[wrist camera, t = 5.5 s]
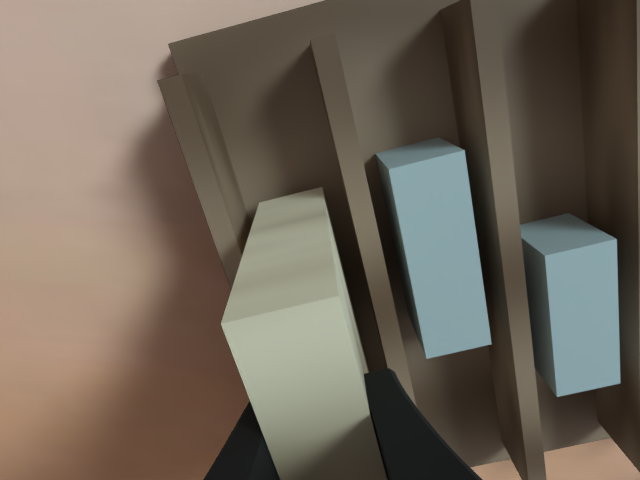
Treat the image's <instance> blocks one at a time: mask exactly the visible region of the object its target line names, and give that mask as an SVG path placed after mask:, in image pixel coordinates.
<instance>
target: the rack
mask: <svg viewBox="0 0 640 480" xmlns="http://www.w3.org/2000/svg"><path fill="white" fill-rule="evenodd" d="M168 45H169V48H170V51H171V54H172V57H173V60H174V63H175V66H176V69H177V72H178V75H176V76H172V77H169V78H165V79H161V80H158V84H159V87H160V90H161V93H162V96H163V98H164V101H165V104H166V107H167V110H168V113H169V115H170V118H171V121H172V124H173V127H174V130H175V132H176V135H177V138H178V141H179V144H180V147H181V149H182V152H183V155H184V158H185V161H186V163H187V166H188V169H189V172H190V175H191V178H192V180H193V183H194V186H195V189H196V192H197V195H198V197H199V200H200V203H201V206H202V209H203V212H204V214H205V217H206V220H207V223H208V226H209V229H210V231H211V234H212V237H213V240H214V243H215V246H216V248H217V251H218V254H219V257H220V260H221V263H222V265H223V268H224V271H225V274H226V277H227V280H228V282H229V285H230V288H231V290H232V287H233V284H234V281H235V277H236V274H237V271H238V268H239V265H240V262H241V258H242V255H243V252H244V249H245V246H246V243H247V239H248V236H249V233H250V230H251V227H252V224H253V221H254V217H255V214H256V211H257V208H258V205H259V202H263V201H267V200H271V199H275V198H279V197H283V196H287V195H291V194H295V193H299V192H303V191H307V190H311V189H315V188H319V187H323V191H324V195H325V199H326V203H327V206H328V210H329V214H330V218H331V222H332V226H333V230H334V234H335V238H336V242H337V246H338V250H339V254H340V258H341V262H342V266H343V269H344V273H345V277H346V281H347V285H348V289H349V293H350V297H351V301H352V305H353V309H354V313H355V317H356V321H357V325H358V329H359V332H360V336H361V340H362V344H363V348H364V352H365V356H366V360H367V364H368V368H369V372H374V371H378V370H383V369H387V368H390V369H391V370H393V371H395V373H396V376H397V378H398V380H399V381H400V383H401V385H402V387H403V388H404V390H405V391H406V393H407V394H408V396H409V397H410V399H411V400H412V401H413V403H414V404H415V406H416V407H417V408H418V409H419V411H420V412H421V413H422V415H423V416H424V417H425V418H426V420H427V421H428V422H429V423H430V424H431V426H432V427H433V428H434V429H435V430H436V432H437V433H438V434H439V435H440V436H441V437H442V438H443V440H444V441H445V442H446V443H447V444H448V445H449V446H450V447H451V448H452V449H453V450H454V452H455V453H456V454H457V455H458V456H459V457H460V458H461V459H462V460H463V461H464V462H465V463H466V464H467V465H468V466H469V467H474V466H479V465H483V464H488V463H493V462H498V461H502V460H507V459H511V460H512V462H513V463H514V465H515V467H516V469H517V471H518V473H519V475H520V477H521V479H522V480H546V472H545V462H544V453H543V452H545V451H550V450H555V449H560V448H564V447H569V446H574V445H579V444H584V443H588V442H593V441H598V440H603V439H607V438H612V439H613V440H614V442H615V443H616V444H617V445H618V446H619V448H620V449H621V450H622V451H623V452H624V454H625V455H626V456H627V457H628V458H629V460H630V461H631V462H632V463H633V464H634V466H635V467H636V468H637V469H638V471H639V472H640V0H325V1H322V2H318V3H314V4H311V5H307V6H304V7H300V8H296V9H293V10H289V11H285V12H282V13H278V14H275V15H271V16H267V17H264V18H260V19H256V20H253V21H249V22H246V23H242V24H238V25H235V26H231V27H227V28H224V29H220V30H216V31H213V32H209V33H206V34H202V35H198V36H195V37H191V38H187V39H184V40H180V41H177V42H173V43H169V44H168ZM438 137H439V138H441V139H443V140H445V141H447V142H449V143H451V144H453V145H455V146H457V147H459V148H461V149H463V150H465V156H466V163H467V171H468V178H469V185H470V192H471V199H472V206H473V214H474V221H475V228H476V235H477V242H478V249H479V257H480V264H481V271H482V278H483V285H484V293H485V300H486V307H487V314H488V321H489V328H490V336H491V343H492V344H491V345H486V346H482V347H477V348H473V349H468V350H464V351H460V352H455V353H451V354H446V355H442V356H437V357H433V358H428V359H426V357H425V354H424V352H423V349H422V347H421V345H420V342H419V340H418V337H417V335H416V333H415V330H414V328H413V325H412V323H411V321H410V318H409V314H408V309H407V304H406V299H405V294H404V290H403V285H402V280H401V275H400V270H399V266H398V261H397V256H396V251H395V246H394V241H393V237H392V232H391V227H390V222H389V217H388V213H387V208H386V203H385V198H384V193H383V188H382V184H381V179H380V174H379V169H378V164H377V160H376V155H375V153H379V152H383V151H387V150H390V149H394V148H398V147H402V146H406V145H410V144H414V143H418V142H422V141H426V140H430V139H434V138H438ZM567 213H569V214H571V215H573V216H575V217H577V218H579V219H581V220H582V221H584V222H586V223H588V224H590V225H592V226H594V227H595V228H597V229H599V230H601V231H603V232H605V233H607V234H608V235H610V236H612V237H614V238H616V239H617V267H618V305H619V344H620V382H621V383H620V384H615V385H611V386H606V387H601V388H597V389H592V390H587V391H583V392H578V393H574V394H569V395H564V396H560V397H557V396H556V395H555V394H554V392H553V391H552V390H551V389H550V387H549V386H548V385H547V383H546V382H545V381H544V379H543V378H542V377H541V376H540V374H539V373H538V372H537V370H536V369H535V366H534V356H533V346H532V336H531V327H530V317H529V307H528V298H527V288H526V278H525V269H524V259H523V249H522V240H521V230H520V225H521V224H525V223H530V222H534V221H538V220H542V219H546V218H550V217H555V216H559V215H563V214H567Z"/></svg>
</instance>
